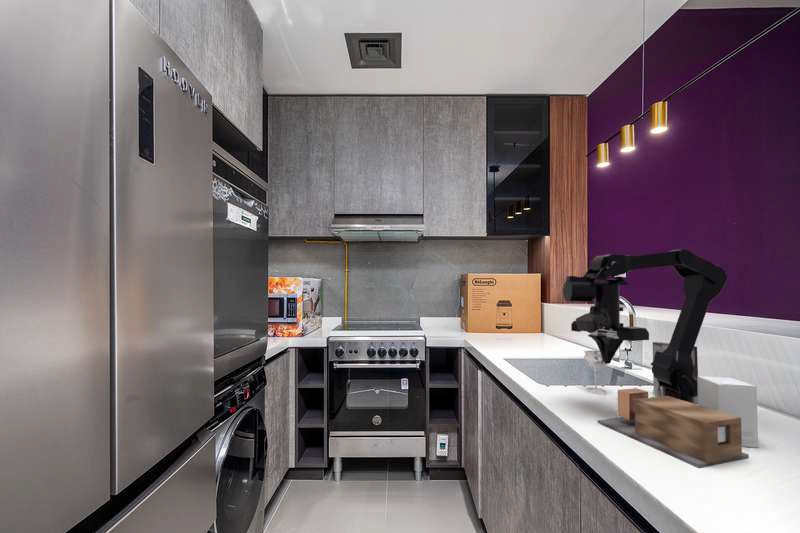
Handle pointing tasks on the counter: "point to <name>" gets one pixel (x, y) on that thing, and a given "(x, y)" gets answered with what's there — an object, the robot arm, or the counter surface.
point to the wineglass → (594, 366)
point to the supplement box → (732, 403)
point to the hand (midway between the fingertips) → (607, 363)
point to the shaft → (629, 395)
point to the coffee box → (662, 347)
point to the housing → (683, 430)
